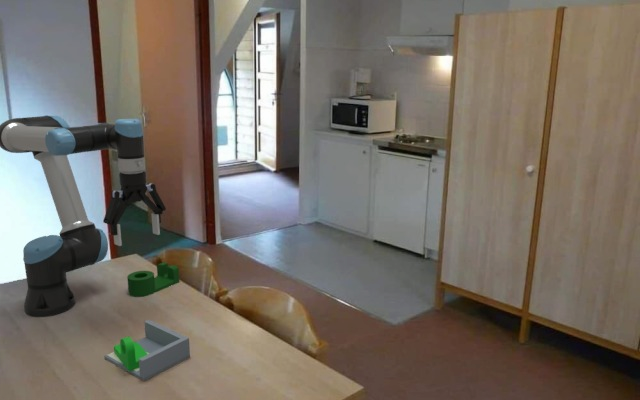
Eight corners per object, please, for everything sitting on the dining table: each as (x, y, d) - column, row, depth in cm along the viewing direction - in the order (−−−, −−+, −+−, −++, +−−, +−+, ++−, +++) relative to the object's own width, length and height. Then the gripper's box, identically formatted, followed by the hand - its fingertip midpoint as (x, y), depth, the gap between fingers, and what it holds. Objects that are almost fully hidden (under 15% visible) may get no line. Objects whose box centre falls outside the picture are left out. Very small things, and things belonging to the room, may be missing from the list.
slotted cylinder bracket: (140, 299, 188) (138, 282, 187) (123, 293, 193) (121, 276, 191) (179, 282, 203) (178, 266, 201) (163, 277, 208) (162, 261, 206)
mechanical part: (151, 363, 146) (149, 336, 144) (128, 371, 142) (126, 343, 141) (135, 345, 155) (133, 320, 153) (114, 352, 152) (111, 326, 150)
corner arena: (104, 358, 150) (102, 339, 149) (150, 337, 162) (148, 319, 160) (144, 381, 140) (142, 360, 138) (190, 356, 151) (188, 338, 150)
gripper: (101, 179, 150) (107, 252, 155) (174, 166, 169) (178, 231, 175) (86, 176, 155) (93, 247, 160) (159, 164, 174) (163, 227, 179)
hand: (137, 239), depth 167 cm, fingers open, 13 cm apart
